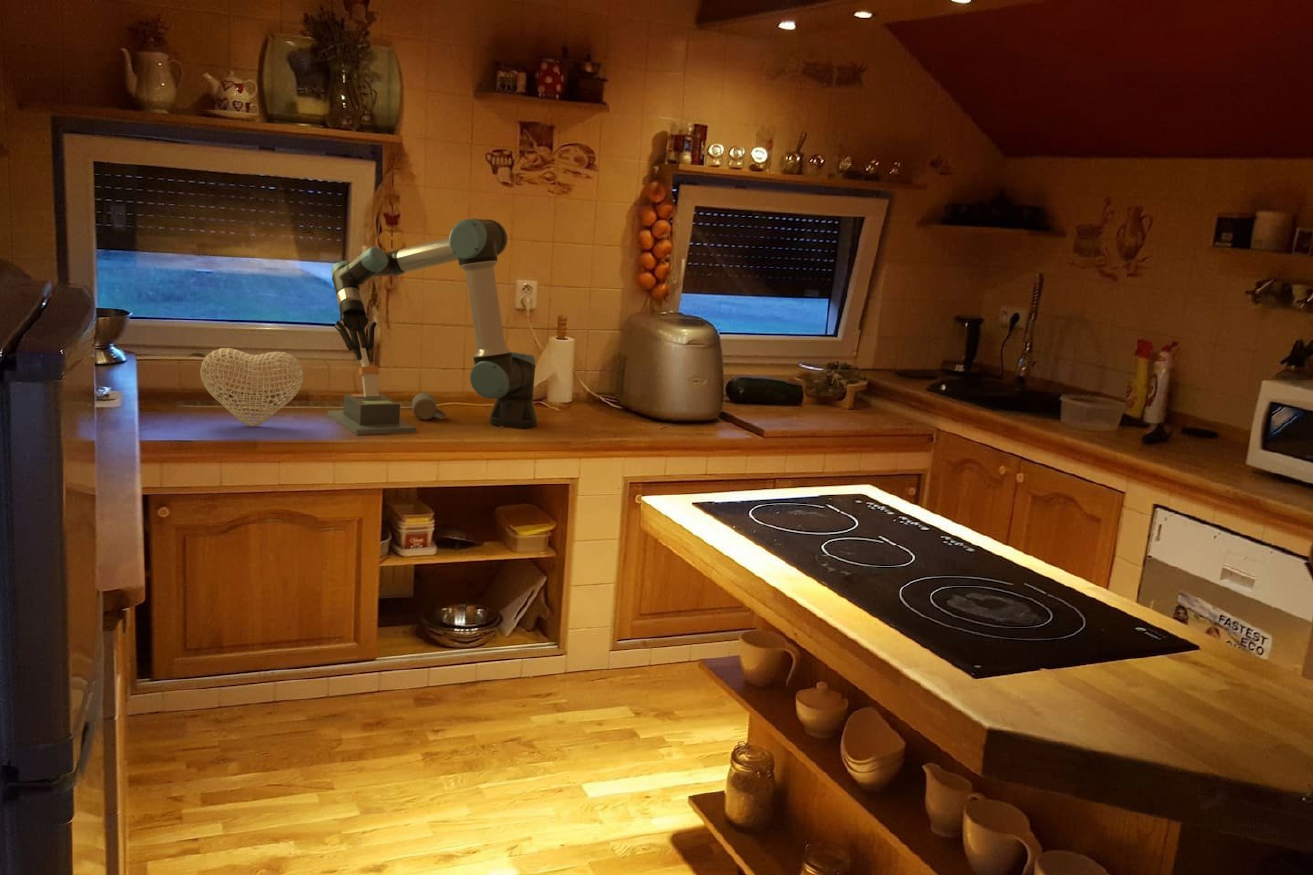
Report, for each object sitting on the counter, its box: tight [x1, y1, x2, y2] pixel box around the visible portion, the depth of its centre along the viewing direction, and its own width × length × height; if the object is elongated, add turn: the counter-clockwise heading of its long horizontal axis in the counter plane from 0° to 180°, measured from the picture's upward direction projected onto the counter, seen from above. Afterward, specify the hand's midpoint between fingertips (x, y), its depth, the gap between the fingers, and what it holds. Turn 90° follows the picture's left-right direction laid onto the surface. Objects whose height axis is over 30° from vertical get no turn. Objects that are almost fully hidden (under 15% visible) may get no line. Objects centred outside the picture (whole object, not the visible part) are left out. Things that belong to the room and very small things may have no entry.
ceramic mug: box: [411, 392, 447, 421], centre depth 346 cm, size 11×8×8 cm
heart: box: [199, 347, 304, 428], centre depth 313 cm, size 28×16×22 cm, turn 96°
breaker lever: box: [358, 366, 380, 398], centre depth 331 cm, size 3×5×9 cm, turn 123°
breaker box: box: [327, 393, 417, 436], centre depth 331 cm, size 28×18×8 cm, turn 33°
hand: (365, 368), depth 333 cm, fingers closed
